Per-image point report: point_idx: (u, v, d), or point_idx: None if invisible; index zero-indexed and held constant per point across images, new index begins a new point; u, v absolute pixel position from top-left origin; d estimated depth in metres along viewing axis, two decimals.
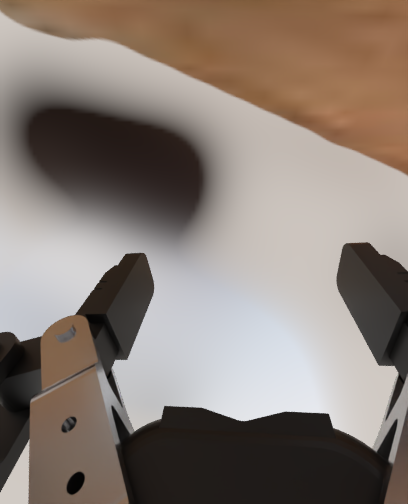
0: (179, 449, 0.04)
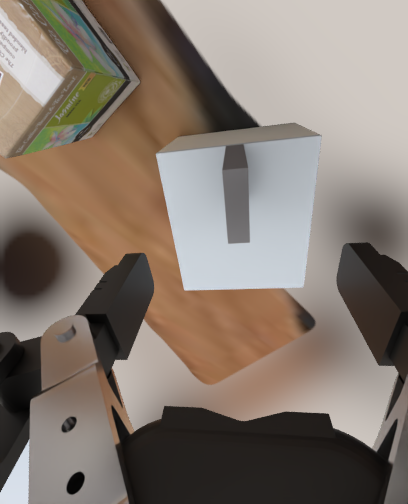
0: (179, 449, 0.04)
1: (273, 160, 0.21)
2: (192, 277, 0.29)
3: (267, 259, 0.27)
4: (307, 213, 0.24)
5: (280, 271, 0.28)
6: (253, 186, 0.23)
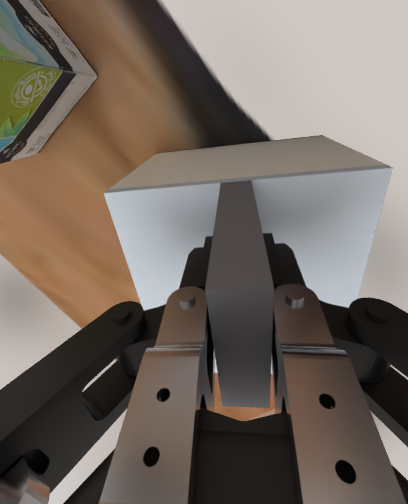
0: None
1: (301, 206, 0.12)
2: None
3: None
4: (352, 285, 0.15)
5: None
6: None
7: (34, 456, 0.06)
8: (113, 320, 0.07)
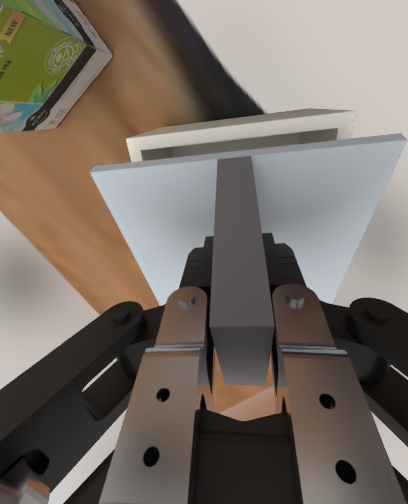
0: None
1: (304, 181, 0.12)
2: None
3: None
4: (348, 251, 0.15)
5: None
6: (265, 218, 0.14)
7: (34, 456, 0.06)
8: (113, 320, 0.07)
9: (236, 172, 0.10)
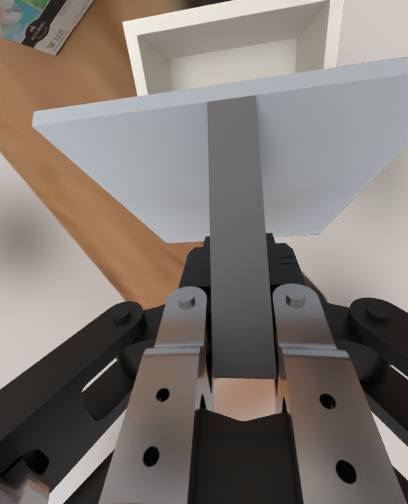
0: None
1: (324, 122, 0.09)
2: (174, 236, 0.22)
3: (276, 222, 0.19)
4: (359, 185, 0.13)
5: (292, 228, 0.20)
6: (269, 162, 0.11)
7: (33, 456, 0.06)
8: (113, 320, 0.07)
9: (234, 133, 0.07)
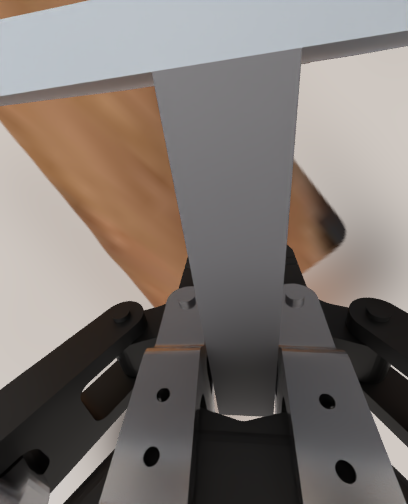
0: None
1: None
2: (134, 88, 0.15)
3: None
4: None
5: None
6: None
7: (34, 456, 0.06)
8: (113, 320, 0.07)
9: (236, 183, 0.03)
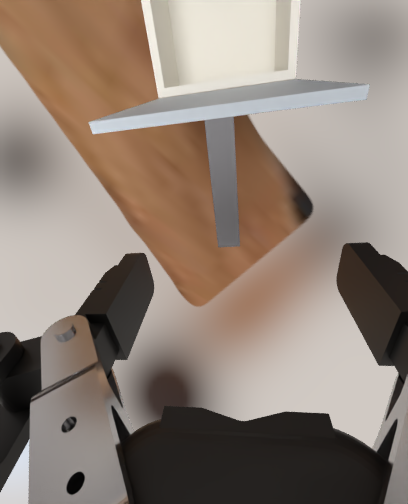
0: (179, 449, 0.04)
1: None
2: None
3: None
4: None
5: None
6: None
7: None
8: None
9: (222, 144, 0.13)
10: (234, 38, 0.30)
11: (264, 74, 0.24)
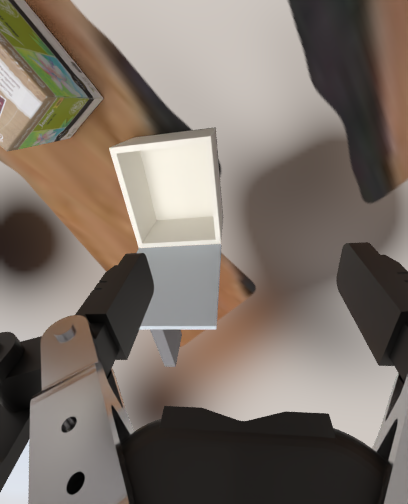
0: (179, 449, 0.04)
1: None
2: None
3: None
4: None
5: None
6: None
7: None
8: None
9: (159, 336, 0.29)
10: (190, 195, 0.46)
11: (202, 240, 0.40)
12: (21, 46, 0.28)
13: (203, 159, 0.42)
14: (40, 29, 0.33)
